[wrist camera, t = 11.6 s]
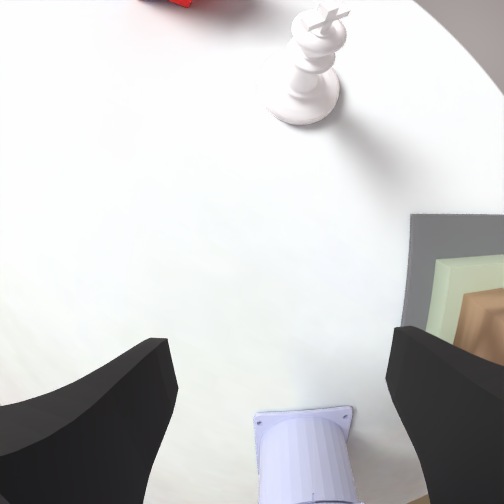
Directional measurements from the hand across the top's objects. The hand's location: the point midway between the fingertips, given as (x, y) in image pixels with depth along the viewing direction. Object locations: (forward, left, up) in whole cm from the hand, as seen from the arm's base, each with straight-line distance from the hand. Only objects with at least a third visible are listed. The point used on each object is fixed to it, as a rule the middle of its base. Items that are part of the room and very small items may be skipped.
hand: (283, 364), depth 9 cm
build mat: (-4, -15, -10) cm, 18 cm away
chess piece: (+11, -2, -11) cm, 15 cm away
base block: (-4, -15, -10) cm, 18 cm away
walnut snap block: (-4, -15, -8) cm, 17 cm away
